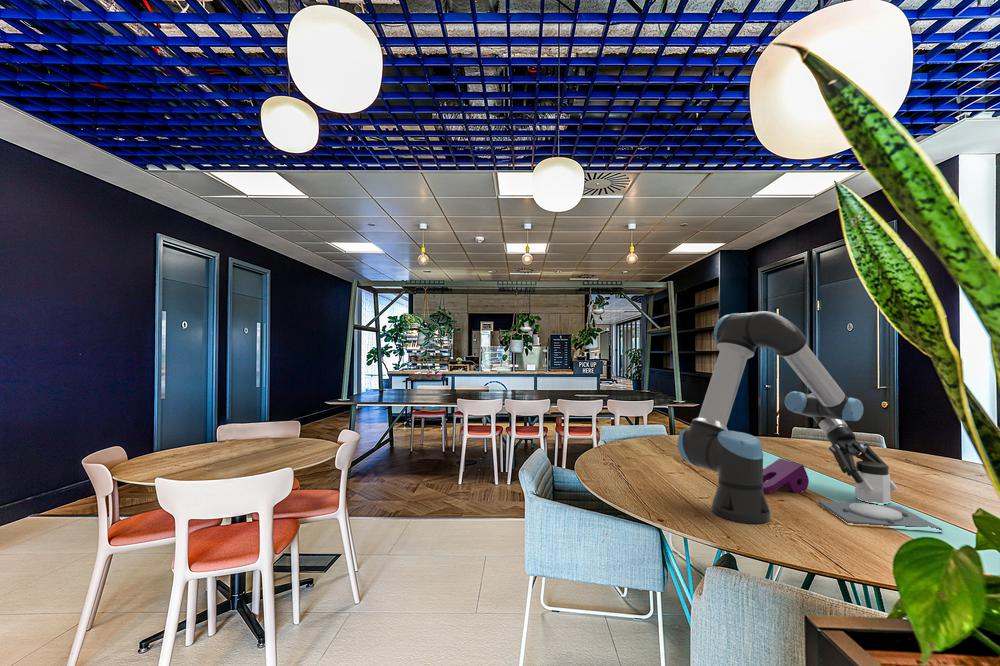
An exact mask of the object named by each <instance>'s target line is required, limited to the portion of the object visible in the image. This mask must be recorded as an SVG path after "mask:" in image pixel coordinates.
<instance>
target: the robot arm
mask: <svg viewBox="0 0 1000 666" xmlns="http://www.w3.org/2000/svg"><path fill="white" fill-rule="evenodd" d="M713 336H714V341H715V342H716V348H717V349H718V351H719V353H718V357H717V359H716V362H715V365H714V368H713V371H712V375H711V377H710V379H709V380H710V381H709V384H708V387H707V389H706V393H705V396H704V399H703V402H702V405H701V408H700V412H699V414H698V417H696V418H693V419H692V420H691V422H690V425H689V426H688V427H685V428H684V429H682V430H681V431H680V432H679V434H678V437H677V449H678V452H679V454H680V456H681V458H682V459H683V460H684V461H685V462H687V463H689V464H692V465H693V466H696V467H701V468H704V469H707V470H711V471H713V472H717V475H718V477H717V478H718V485H717V488H716V491H715V494H714V496H713V499H712V503H711V504H712V505H711V507H712V508H711V511H712V513H714V515H716V516H718V517H721V518H722V519H726V520H729V521H733V522H737V523H744V524H765V523H768V522H770V521H771V510H770V508H769V507H770V506H769V504H768V501H767V499H766V496H765V493H764V492H763V484H764V483H763V469H764V452H763V443H762V441H761V440H760V439H759V438H758V437H756V436H754V435H752V434H749V433H746V432H743V431H742V432H741V431H735V430H729V429H728V427H727V425H728V422H729V419H730V416H731V412H732V409H733V405H734V403H735V401H736V400H735V399H736V396H737V394H738V389H739V387H740V383H741V380H742V378H743V374H744V370H745V368H746V364H747V361H748V359H751V358H753V357H754V355H755V353H756V350H757V348H766V349H767V348H768V349H770V350H772V351H773V352H774V353H775V354H776V355H777V356H779V357H782V358H784V360H785V362H787V364H788V365H789V366H790V368H791V369H792V370H793V371H794V372H795V373H796V376H797V377H799V379H800V380H801V381H802V382H803V384H804V385H805V386H806V387H807V388H808V390H809V391H810V392H811V393H804V392H802V391H795V390H794V391H791V392H789V393H787V394H786V396H785V398H784V405H785V407H786V409H787V410H788V411H790V412H792V413H794V414H799V415H802V416H807V417H808V418H812V419H813V420H814V421H815V422H816V424H817V425H818V427H819V428H820V429H821V431H822V432H823V433H824V435H825V436H826V439H828V441H829V442H830V443H831V445H830V446H829V447H828V450H829V451H830V452H831V454H832V455H833V457H834V459H835V460H836V463H837V464H838V466H839V468H840V471H841V472H842V473H843V474H846V475H847V477H852V479H853V480H854V482H855V481H856V482H857V483H858V484H859V485H860V487H861V488H862V489H863V491H864V492H865V494H868V493H870V492H871V491H872V490H873V488H872V487H871V486H870V484H869V483H868V482H867V480H866V479H865V477H864V476H863V475H862V473H861V472H860V471H857V470H856V463H855V460H854V457H855V458H857V459H859V460H860V461H869V462H877V463H882V464H885V465H887V463H886V462H885V461H883V459H882V458H880V457H879V455H878V454H877V453H876V452H875V451H874V450H873V449H872V448H871V447H870V445H869V443H866V442H865V443H864V444H863V443H862V444H861V443H860V442H858V440H856V435H855V433H854V432H853V431H852V430H851V428H850V427H849V426H848V424H847V422H846V421H850V422H857V421H859V420H861V418H862V416H863V414H864V404H863V403H862V401H861V400H860V399H859V398H854V397H848V396H847V395H846V393H844V391H843V390H842V388H841V387H840V386H839V385H838V383H837V382H836V381H835V379H834V378H833V377H832V375H831V374H830V373H829V371H828V370H827V369H826V368H825V367H824V365H823V364H822V362H821V361H820V359H818V358H817V356H816V354H814V352H813V351H812V350H811V348H810V347H809V345H808V344H807V342H808V339H807V337H806V336H805V335H804V333H803V332H802V331H801V330H800V329H799V328H798V326H796V325H795V324H794V323H793V322H791V321H790V320H789V319H788V318H785V317H784V316H782V315H780V314H779V313H776V312H771V311H769V310H767V311H764V310H763V311H762V310H761V311H752V312H741V313H739V312H735V313H730V314H725V315H724V316H722V317H721V318H719V319H718V320H717V322H716V323H715V325H714V329H713ZM889 469H890V467H889V466H888V470H889ZM856 471H857V472H856ZM898 489H899V488H898V487H897V485H896V484H895V482H893V480H892V478H891V477H890V494H893V493H894V492H896V491H897V490H898Z"/></svg>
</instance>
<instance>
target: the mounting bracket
mask: <svg viewBox="0 0 1000 666" xmlns="http://www.w3.org/2000/svg"><path fill="white" fill-rule="evenodd" d="M809 482H810V481H809V476H808V473H807V471H806V469H805V466H804V464H803V463H799V462H795V461H792V460H788V459H784V458H778V459H776V460H775V461H774V462H772V463H771V464H769V465H768V466H765V468H763V492H764V494H768V493H773V492H775V491H776V490H779V489H780V488H782V487H781V486H785V488H786V489H787V490H788V491H790V492H793V493H796V492H802V491H804V492H805V491H807V489H808V488H809ZM802 493H803V492H802Z"/></svg>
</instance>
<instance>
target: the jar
mask: <svg viewBox="0 0 1000 666" xmlns="http://www.w3.org/2000/svg"><path fill="white" fill-rule="evenodd" d="M885 464H886V463H885ZM885 464H882V463H877V462H869V461H862V460H857V461H856V463H855V466H856V470H857V471H860V472H861V473H862V475H863V476H864V477H865V479H866V480H867V482H868V483H869V484H870V486H871V487H872V488H873V490H872V491H871V492H870V493H868V494H865V492H864V491H863V489H862V488H861V487H860V485H859V484H858V483H857V482H856V481H855V480H854V497H856V498H859V499H861V500H863V501H868V502H877V503H887V502H890V501H891V500H892V499H891V493H890V478H891V474H890V473H889V469H888V467H889V465H888V464H886V465H885ZM857 471H856V472H857ZM856 498H855V499H856ZM891 502H892V501H891Z"/></svg>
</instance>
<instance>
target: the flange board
mask: <svg viewBox="0 0 1000 666" xmlns="http://www.w3.org/2000/svg"><path fill="white" fill-rule="evenodd" d="M818 503H819V504H820V505H821V506H823V507H824V508H826V509H827V510H829V511H831V512H832V513H834V514H835V515H837V516H838V517H840V518H841V519H843V520H844V521H846V522H847V523H853V524H869V525H883V526H905V527H928V526H929V527H931V528H936V529H939V530H942V531H943V528H942V527H940V526H938V525H936V524H934V523H932V522H930V521H929V520H927V519H925V518H922V517H921V516H920V515H916V514H915V513H913V512H910V511H908V510H907V509H905V508H903V507H901V506H899V505H898V506H897V505H888V504H887V505H876V504H869V503H865V502H862V501H860V500H857V502H844V501H843V502H842V501H830V500H829V501H828V500H817V504H818ZM820 505H819V506H820ZM821 506H820V507H821ZM823 507H822V508H823ZM824 508H823V509H824ZM826 509H825V510H826ZM827 510H826V511H827Z"/></svg>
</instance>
